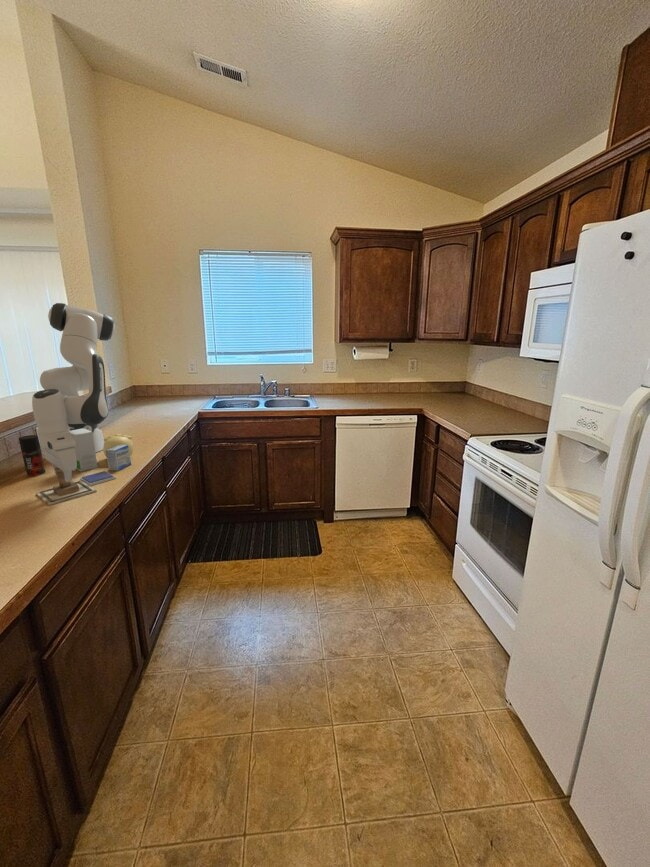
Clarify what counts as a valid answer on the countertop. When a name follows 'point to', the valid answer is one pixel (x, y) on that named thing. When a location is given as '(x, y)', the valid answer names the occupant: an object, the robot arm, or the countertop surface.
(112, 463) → the medicine box
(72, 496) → the marked board
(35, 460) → the deodorant
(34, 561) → the countertop surface
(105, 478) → the ink pad
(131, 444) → the sculpture
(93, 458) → the skincare box
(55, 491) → the stamp
